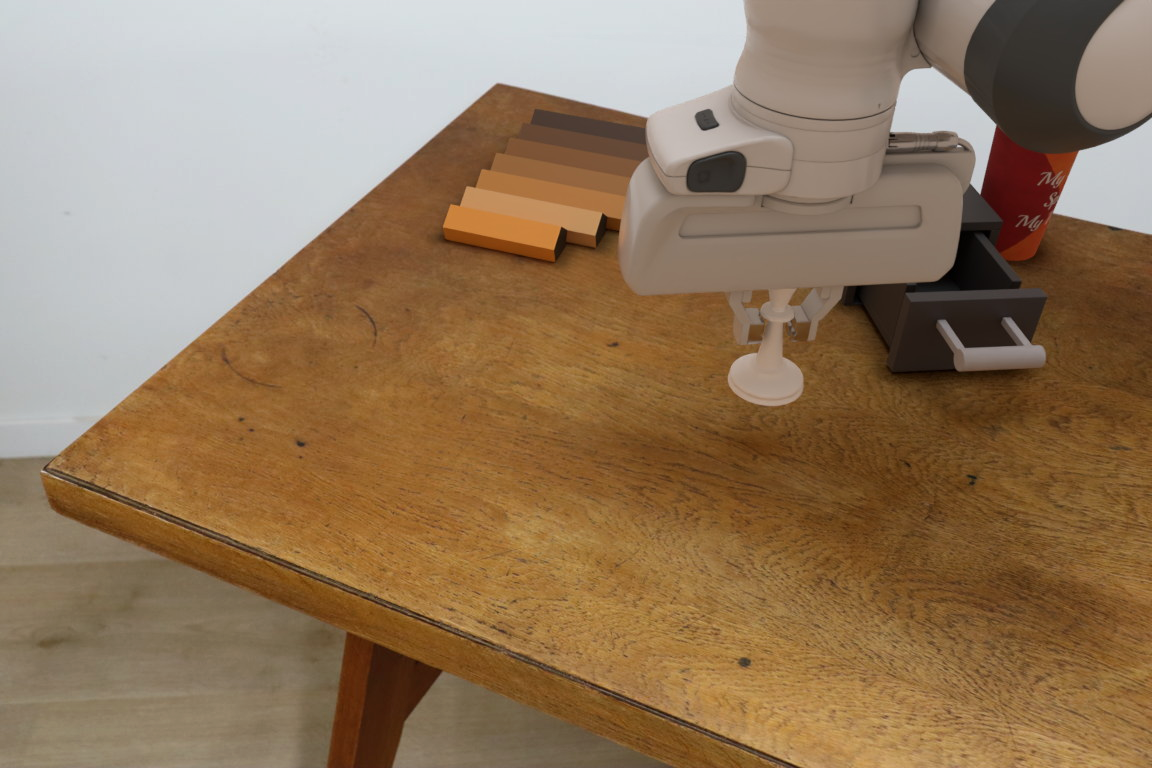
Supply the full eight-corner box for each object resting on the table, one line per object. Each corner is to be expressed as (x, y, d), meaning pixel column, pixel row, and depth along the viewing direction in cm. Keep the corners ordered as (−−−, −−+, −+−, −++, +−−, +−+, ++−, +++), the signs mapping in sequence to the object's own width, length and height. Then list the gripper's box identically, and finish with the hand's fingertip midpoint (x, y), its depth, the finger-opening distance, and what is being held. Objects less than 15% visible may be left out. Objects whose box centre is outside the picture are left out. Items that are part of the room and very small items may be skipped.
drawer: (1055, 410, 80) (1083, 339, 76) (918, 417, 78) (939, 345, 75) (957, 277, 94) (976, 211, 90) (839, 282, 92) (853, 215, 88)
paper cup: (1035, 282, 95) (1089, 131, 87) (947, 256, 98) (990, 107, 90) (1053, 244, 101) (1105, 98, 92) (969, 220, 104) (1012, 76, 95)
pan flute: (780, 176, 109) (540, 133, 114) (785, 144, 107) (541, 102, 112) (727, 308, 90) (443, 248, 96) (733, 272, 88) (442, 213, 93)
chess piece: (722, 399, 71) (741, 266, 65) (732, 355, 75) (751, 225, 69) (800, 412, 70) (826, 278, 64) (806, 367, 74) (831, 237, 68)
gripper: (960, 107, 66) (910, 302, 74) (619, 117, 63) (608, 317, 72) (1007, 155, 61) (947, 358, 69) (638, 168, 58) (624, 377, 67)
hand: (772, 337), depth 70 cm, fingers closed on chess piece
